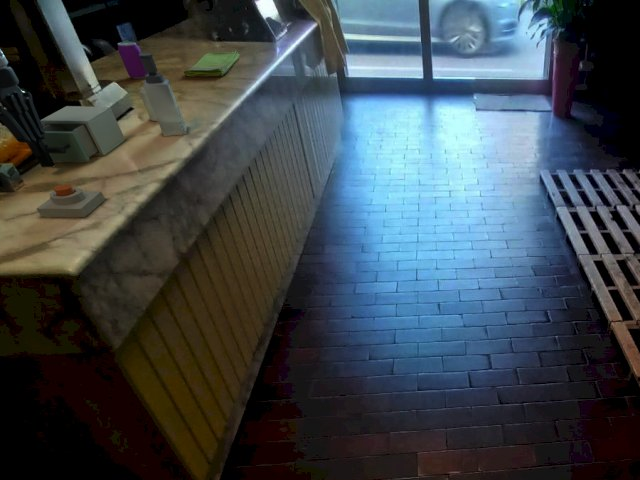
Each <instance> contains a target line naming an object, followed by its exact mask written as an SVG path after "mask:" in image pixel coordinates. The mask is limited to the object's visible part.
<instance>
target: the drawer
mask: <svg viewBox="0 0 640 480" xmlns="http://www.w3.org/2000/svg"><path fill="white" fill-rule="evenodd" d="M42 127H43V126H42ZM43 129H44V132H45V134H42V136H45V139H42V141H43V143H44V144H45V146H46V148H47V150H48V153H49V154H50V156H51V158H52V160H53V161H54V162H68V163H69V162H72V163H74V162H76V163H78V162H79V163H88V162H90V157H92V155H93V154H95V153H96V152H97V151H99V150H98V148H97V146H96V144H95V142H94V140H93V138H92V136H91V134H90V132H89V130H88V128H87V126H86V124H48V125H46V126H44V127H43Z"/></svg>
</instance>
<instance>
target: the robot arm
mask: <svg viewBox="0 0 640 480" xmlns="http://www.w3.org/2000/svg"><path fill="white" fill-rule="evenodd" d="M3 52H4V51H2V49H1V48H0V122H1V123H2V124H3V125H4V126H5V128H7V130H8V131H9V132H10V134H11V135H12V136H13V137H14V138H15V140H16V141H17V142H18V143H23V144H24V143H25V144H26V145H27V146H28V147H29V149H30V151H31V152H32V154H33V155H34V156H35V158H36V159H37V161H38V163H39V165H40V166H41V168H54V167H55V166H56V164H55V163H56V162H55V161H53V160H52V158H51V156H50V154H49V153H48V150H47V148H46V146H45V144H44V143H43V141H42V139H45V136H42V134H45V132H44V129H43V125H42V123H41V121H40V120H41V119H40V117H39V114H38V112H37V109H36V107H35V104H34V100H33V96H32V93H30V92H26V91H22V89H21V88H20V87H19V86H18V85H19V84H20V80H19V78H18V77H17V75H16V73H15V71H14V69H13V68H12V67H11V66H9V65H8V64H9V61H8V59H7V58H6V56H5V54H4V53H3Z"/></svg>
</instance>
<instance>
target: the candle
mask: <svg viewBox="0 0 640 480" xmlns="http://www.w3.org/2000/svg"><path fill="white" fill-rule="evenodd" d="M138 94H139V96H140V98H141V102H142V103H143V106H144V108H145V110H146V113H147V115H148V117H149V119H150V121H152V122H158V120H157V118H156V115H155V113H154V111H153V108H152V106H151V103H150V101H149V98H148V96H147V94H146V91H145V89H144V85H141V87H140V89H139V91H138Z"/></svg>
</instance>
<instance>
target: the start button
mask: <svg viewBox="0 0 640 480" xmlns="http://www.w3.org/2000/svg"><path fill="white" fill-rule="evenodd" d="M72 187H73V186H72V184H68V183H67V184H66V183H65V184H60V185H56V186H55V187H53V191H55V192H56V194H57V196H68V195H71V194H74V193H75V191H74V190H73V188H72Z"/></svg>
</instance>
